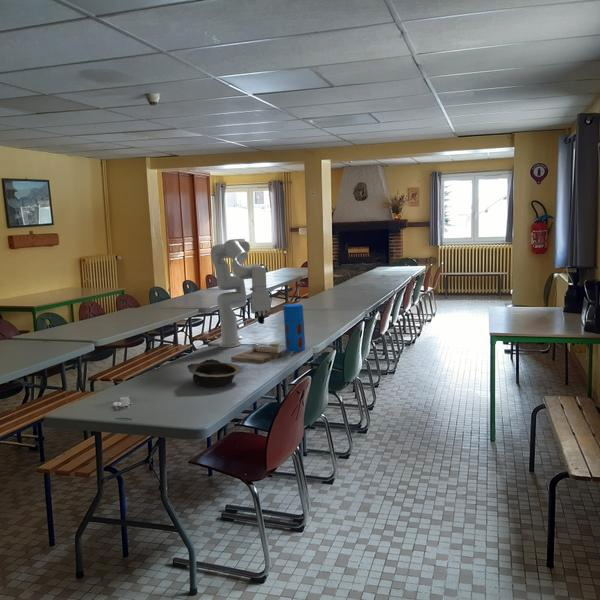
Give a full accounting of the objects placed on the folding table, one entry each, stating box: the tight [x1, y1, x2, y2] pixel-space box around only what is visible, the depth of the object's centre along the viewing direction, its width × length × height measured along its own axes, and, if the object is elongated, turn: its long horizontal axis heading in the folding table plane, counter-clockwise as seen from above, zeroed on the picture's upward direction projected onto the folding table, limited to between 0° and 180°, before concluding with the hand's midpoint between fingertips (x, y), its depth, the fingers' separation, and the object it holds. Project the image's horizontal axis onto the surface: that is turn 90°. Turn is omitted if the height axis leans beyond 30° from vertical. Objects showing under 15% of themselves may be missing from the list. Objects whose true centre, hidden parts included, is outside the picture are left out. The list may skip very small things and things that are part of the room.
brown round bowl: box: [187, 359, 243, 388], centre depth 267 cm, size 25×25×9 cm
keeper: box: [268, 342, 280, 347], centre depth 318 cm, size 2×5×4 cm, turn 59°
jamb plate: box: [230, 349, 285, 365], centre depth 314 cm, size 20×20×2 cm
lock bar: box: [251, 343, 282, 353], centre depth 317 cm, size 17×4×4 cm, turn 56°
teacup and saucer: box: [112, 396, 131, 407], centre depth 239 cm, size 9×8×4 cm
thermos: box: [283, 303, 306, 353], centre depth 328 cm, size 11×11×25 cm
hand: (261, 323), depth 314 cm, fingers closed
